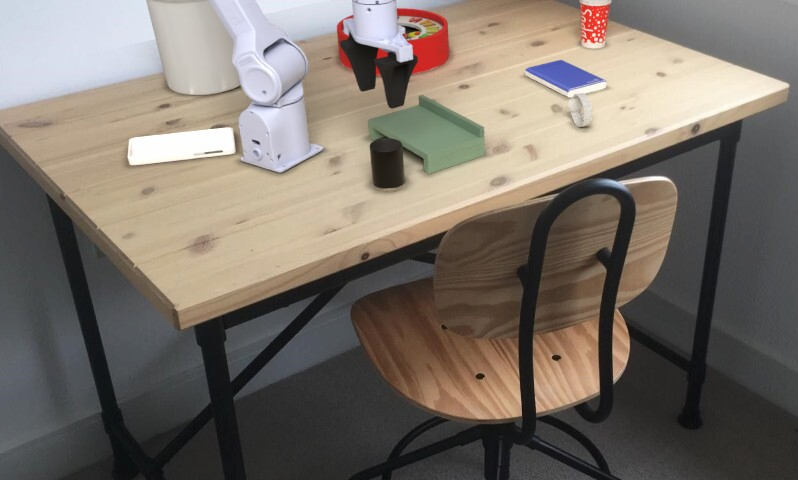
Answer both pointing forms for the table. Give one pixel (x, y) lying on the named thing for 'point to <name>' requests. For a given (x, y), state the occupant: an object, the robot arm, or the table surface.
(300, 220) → the table surface
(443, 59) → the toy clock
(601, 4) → the beverage cup
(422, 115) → the shelf
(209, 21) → the utensil holder
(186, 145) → the phone case
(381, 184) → the cylinder
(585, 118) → the wristwatch
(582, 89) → the hard drive
